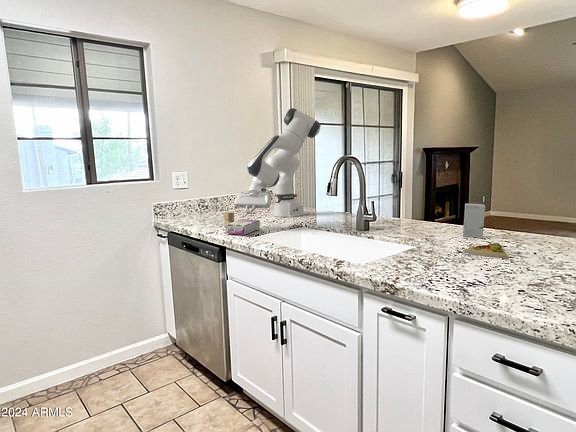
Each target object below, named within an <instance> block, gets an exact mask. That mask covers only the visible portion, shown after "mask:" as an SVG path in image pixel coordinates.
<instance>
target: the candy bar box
mask: <svg viewBox="0 0 576 432" xmlns="http://www.w3.org/2000/svg"><path fill="white" fill-rule="evenodd" d="M224 228H225V234H228V235H239V236H240V235H242V236H245V235H247V234H250V233H252V232H255V231H258V230H260V229H261V220H259V219H244V218H242V219H239V220H238V219H237V220H234V222H232V223H228V224H225V227H224Z"/></svg>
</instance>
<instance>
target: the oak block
mask: <svg viewBox="0 0 576 432" xmlns="http://www.w3.org/2000/svg"><path fill="white" fill-rule="evenodd" d="M223 222H224V223H223V225H224V228H225V224H228V223H232V222H235V212H233V211H232V212H231V211H227V212H226V211H225V212H223Z"/></svg>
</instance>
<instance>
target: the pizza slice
mask: <svg viewBox="0 0 576 432" xmlns="http://www.w3.org/2000/svg"><path fill="white" fill-rule="evenodd" d="M463 252H464V254H468V253H469V255H474V256H479V257H484V258H485V257H487V258H494V259H495V258H496V259H509V254H507V252H506V251H505V249H504V248H503V246H502V245H501V244H500V243H498V242H494V243H489V244H483V245H476V246H470V247H468V248H464V249H463V251H462V253H463Z"/></svg>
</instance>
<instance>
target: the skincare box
mask: <svg viewBox="0 0 576 432" xmlns="http://www.w3.org/2000/svg"><path fill="white" fill-rule="evenodd" d="M485 213H486V205H485V204H482V203H464V216H463V218H464V219H463V229H462V237H463V238H470V237H477V238H476V239H483V236H484V224H485Z"/></svg>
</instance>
